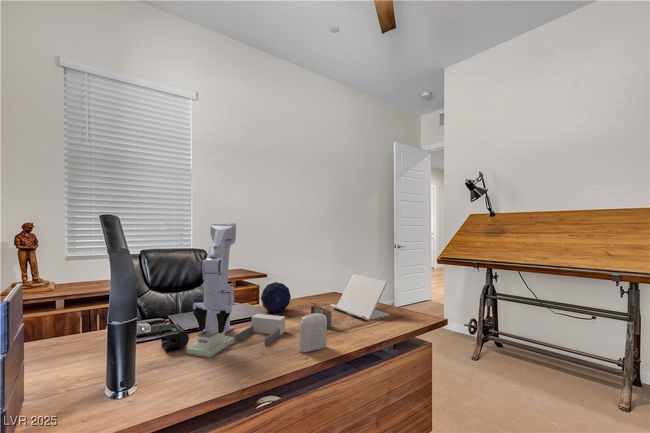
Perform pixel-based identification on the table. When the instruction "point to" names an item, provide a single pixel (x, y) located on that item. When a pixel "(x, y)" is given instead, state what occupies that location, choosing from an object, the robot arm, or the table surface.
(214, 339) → the grey rectangular block
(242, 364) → the table surface
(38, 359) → the table surface
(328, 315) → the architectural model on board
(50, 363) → the table surface
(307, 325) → the photo printer
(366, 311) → the tablet stand
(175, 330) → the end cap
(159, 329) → the smart home device
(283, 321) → the printer bay
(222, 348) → the tray
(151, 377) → the table surface
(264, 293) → the decorative orb
